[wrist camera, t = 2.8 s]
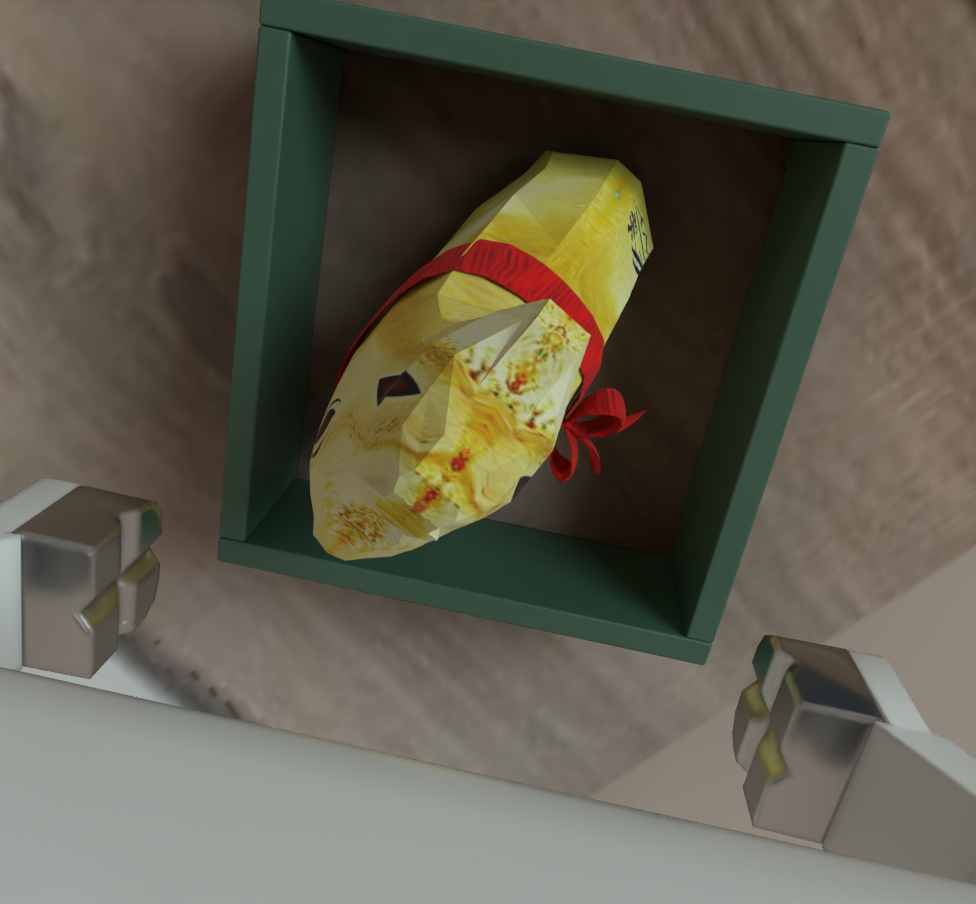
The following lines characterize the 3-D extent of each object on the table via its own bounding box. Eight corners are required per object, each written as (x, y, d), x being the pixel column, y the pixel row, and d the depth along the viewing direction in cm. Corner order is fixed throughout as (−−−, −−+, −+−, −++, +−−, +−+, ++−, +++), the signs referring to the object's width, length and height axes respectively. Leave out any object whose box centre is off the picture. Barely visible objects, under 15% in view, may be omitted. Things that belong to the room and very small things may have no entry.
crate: (321, 12, 24) (260, -14, 20) (831, 114, 24) (892, 112, 19) (272, 493, 30) (216, 561, 25) (685, 581, 29) (705, 666, 25)
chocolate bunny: (332, 378, 28) (90, 629, 14) (559, 104, 24) (536, 78, 11) (488, 509, 29) (408, 860, 15) (728, 265, 26) (909, 435, 12)
